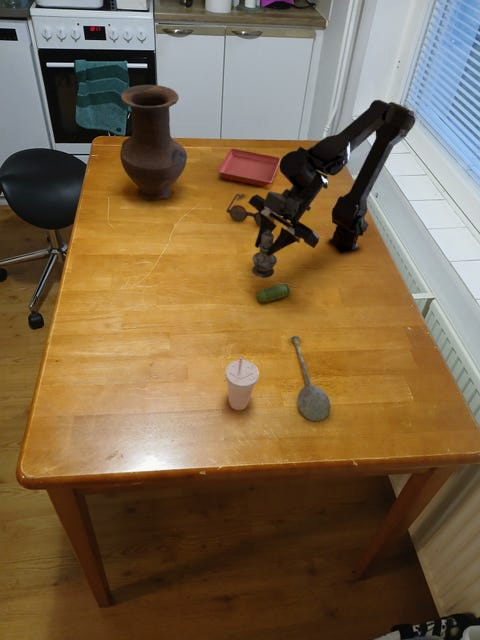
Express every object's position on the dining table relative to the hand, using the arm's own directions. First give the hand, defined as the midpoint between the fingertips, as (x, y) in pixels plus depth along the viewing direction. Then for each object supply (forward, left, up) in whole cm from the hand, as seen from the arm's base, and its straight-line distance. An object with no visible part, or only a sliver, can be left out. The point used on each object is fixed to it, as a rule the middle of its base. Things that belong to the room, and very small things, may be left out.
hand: (261, 251), depth 113 cm
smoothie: (+19, +28, -13) cm, 36 cm away
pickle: (-3, +3, -13) cm, 14 cm away
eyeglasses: (-17, -33, -13) cm, 40 cm away
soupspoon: (+3, +28, -13) cm, 31 cm away
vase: (+8, -53, -13) cm, 55 cm away
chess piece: (-1, 0, -7) cm, 7 cm away
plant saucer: (-26, -55, -13) cm, 62 cm away
